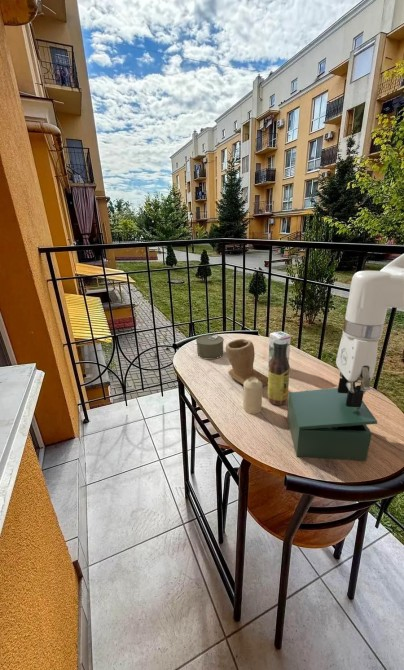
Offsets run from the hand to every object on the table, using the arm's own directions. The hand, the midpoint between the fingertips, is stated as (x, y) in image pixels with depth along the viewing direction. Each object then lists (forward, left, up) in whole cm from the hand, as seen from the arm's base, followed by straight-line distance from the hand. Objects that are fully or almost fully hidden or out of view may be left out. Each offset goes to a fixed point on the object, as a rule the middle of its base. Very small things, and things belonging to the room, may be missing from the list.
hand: (348, 398), depth 68 cm
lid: (+4, 0, -3) cm, 5 cm away
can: (+39, -52, -12) cm, 66 cm away
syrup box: (+11, -39, -12) cm, 42 cm away
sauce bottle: (+14, -17, -12) cm, 25 cm away
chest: (+5, 0, -12) cm, 13 cm away
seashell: (+4, 0, -11) cm, 12 cm away
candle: (+22, -12, -12) cm, 28 cm away
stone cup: (+24, -29, -12) cm, 39 cm away
